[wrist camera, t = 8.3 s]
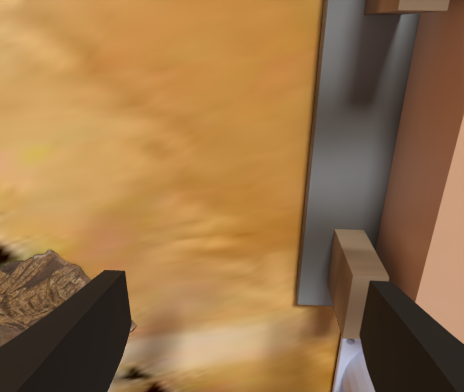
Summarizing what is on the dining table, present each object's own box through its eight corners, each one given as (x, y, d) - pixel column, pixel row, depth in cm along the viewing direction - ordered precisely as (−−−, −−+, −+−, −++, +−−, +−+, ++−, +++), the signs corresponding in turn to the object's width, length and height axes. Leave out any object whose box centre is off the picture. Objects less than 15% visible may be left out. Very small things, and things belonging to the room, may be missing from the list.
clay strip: (416, 282, 20) (462, 355, 16) (369, 280, 21) (402, 352, 16) (504, -70, 14) (626, -117, 9) (436, -70, 14) (523, -116, 10)
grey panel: (468, 300, 22) (523, 371, 17) (296, 293, 22) (306, 360, 18) (611, -134, 14) (788, -214, 9) (336, -132, 14) (375, -206, 10)
